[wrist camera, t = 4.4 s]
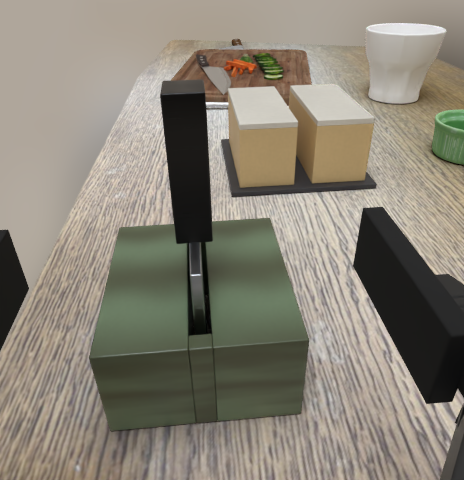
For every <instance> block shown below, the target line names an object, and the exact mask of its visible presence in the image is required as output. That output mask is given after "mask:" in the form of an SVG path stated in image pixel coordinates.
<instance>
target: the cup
mask: <svg viewBox="0 0 464 480" xmlns="http://www.w3.org/2000/svg"><path fill="white" fill-rule="evenodd" d="M445 33H446V29H444V28H442V27H438V26H433V25H424V24H409V23H389V24H377V25H371V26H368V27H367V28H366V56H367V58H368V61H369V64H370V89H369V93H368V96H369V98H371V99H372V100H375V101H378V102H382V103H389V104H407V103H412V102H415V101H417V100H418V98H419V91H420V89H421V86H422V84H423V81H424V79H425V76H426V74H427V71H428V68H429V67H430V65H431V64H432V63H433V61H434V60H435V58H436V57H437V55H438V52H439V50H440V47H441V44H442V41H443V38H444V36H445Z"/></svg>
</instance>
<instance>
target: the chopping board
mask: <svg viewBox="0 0 464 480" xmlns="http://www.w3.org/2000/svg"><path fill="white" fill-rule="evenodd" d="M198 79H202V80H203V81H204V87H205V93H206V107H228V88H247V87H270V86H274V87H275V88H276V90H277V91H278V93H279V94H280V96H281V97H282V99H283V100H284V102H285V103H286V104H287V106H289V96H290V86H293V85H312V84H311V78H310V72H309V66H308V60H307V54H306V52H305V51H302V50H283V49H205V50H199V51H196V52H194V54H193V55H192V56H191V57H190V58H189V59H188V61H187V62H186V63H185V64H184V65H183V67H182V68H181V69H180V70H179V71H178V72H177V74H176V75H175V76H174V77H173V78H172V80H171V81H174V80H198Z"/></svg>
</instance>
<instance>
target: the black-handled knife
mask: <svg viewBox="0 0 464 480" xmlns="http://www.w3.org/2000/svg"><path fill="white" fill-rule="evenodd" d="M160 98H161V107H162V116H163V125H164V135H165V144H166V153H167V163H168V172H169V181H170V190H171V200H172V209H173V218H174V228H175V237H176V243H177V244H185V243H189V255H190V283H191V294H192V305H193V316H194V327H195V335H203V334H207V326H206V310H205V295H204V280H203V266H202V252H201V242H212V241H213V230H212V210H211V191H210V171H209V152H208V132H207V113H206V93H205V87H204V81H203V80H202V79H198V80H174V81H163V82H162V88H161V94H160Z"/></svg>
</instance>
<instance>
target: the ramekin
mask: <svg viewBox="0 0 464 480" xmlns="http://www.w3.org/2000/svg"><path fill="white" fill-rule="evenodd" d="M432 150H433V152H434V153H435V154H436V155H437V156H438V157H440V158H442V159H444V160H446V161H449V162H452V163H456V164H461V165H464V110H449V111H443V112H441V113H438V114H437V115H436V117H435V130H434V136H433V142H432Z"/></svg>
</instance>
